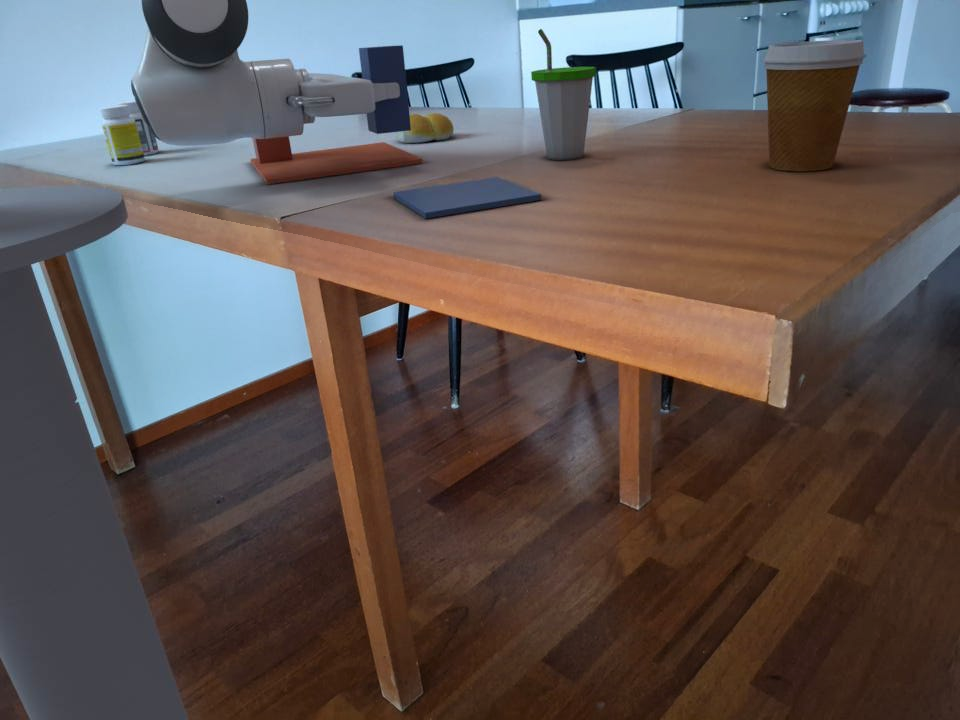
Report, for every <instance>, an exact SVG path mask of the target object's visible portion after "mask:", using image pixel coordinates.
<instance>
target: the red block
mask: <svg viewBox="0 0 960 720" xmlns="http://www.w3.org/2000/svg"><path fill="white" fill-rule="evenodd" d="M251 139H252V143H253V149H254V153H255V158H256V159H257V160H258V162H259V163H260V164H262V163H270V162H278V161H286V160H293V157H292V154H293V152H292V147H291V141H290V136H288V137H279V138H269V139H255V138H251Z"/></svg>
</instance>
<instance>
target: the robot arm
mask: <svg viewBox="0 0 960 720" xmlns="http://www.w3.org/2000/svg"><path fill="white" fill-rule="evenodd" d="M141 8H142V13H143V14H142V15H143V17H144V20H145V23H146V25H147V28H146V36H145V41H144V45H143V50H142V54H141V57H140V61H139V63H138V66H137V69H136V71H135V74H134V75H133V76H132V78H131V80H130V87H131V92H132V96H133V97H134V101H136V103H137V106H138V108H139V110H140V113H141V115H142V117H143V119H144V121H145V123H146V125H147V128H148V129H149V131H150V132H151V133H152V134H153V135H154V136H155V138H156V140H159V141H160V142H162V143H164V144H166V145H169V146H178V147H180V146H181V147H194V146H195V147H197V146H211V145H212V146H213V145H221V144H229V143H231V142H233V141H236V140H239V139H252V138H255V139H269V138H279V137H288V136H289V137H295V136H296V137H297V136H302V135H303V134H304V130H305V129H304V128H305V127H304V126H305V125H307V124H308V125H309V124H314V123H315V122H316V118H331V117H345V116H346V117H347V116H356V115H365V114H366V115H367V113H371V112H373V111H374V110H375V102H378V101H381V100H385V99H392V98H398V97H399V96H400V88H399V84H398V83H396V82H389V83H372V81H371V80H367V79H362V78H359V77H353V76H346V75H339V74H333V73H332V74H331V73H316V72H315V73H314V72H308V70H307V69H306V68H299V69H297V68H295V66H294V64H293V62H292V60H291V59H290V58H279V59H278V58H277V59H265V60H264V59H263V60H252V61H243V60H242V59H241V58H240V56H239V51H238V49H239V48H240V46H241V44H242V43H243V42H244V40H245V37H246V35H247V31H248V27H249V8H248V2H247V0H141Z"/></svg>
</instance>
